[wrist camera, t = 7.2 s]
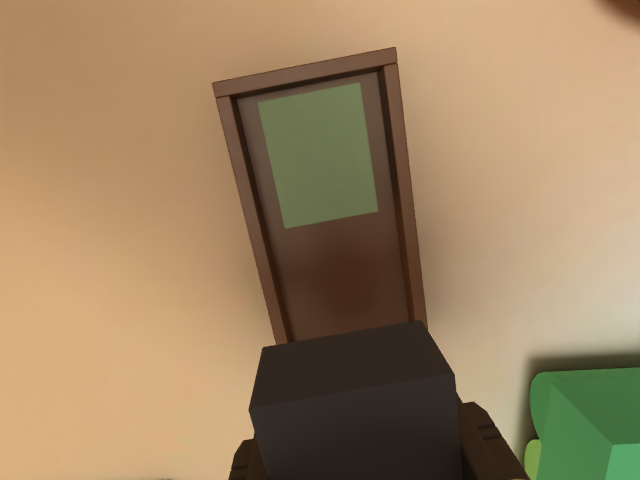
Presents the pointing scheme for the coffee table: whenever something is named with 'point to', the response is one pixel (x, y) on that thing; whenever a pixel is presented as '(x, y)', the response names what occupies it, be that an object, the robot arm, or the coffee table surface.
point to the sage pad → (320, 155)
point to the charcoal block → (358, 407)
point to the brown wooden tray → (335, 235)
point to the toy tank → (585, 425)
